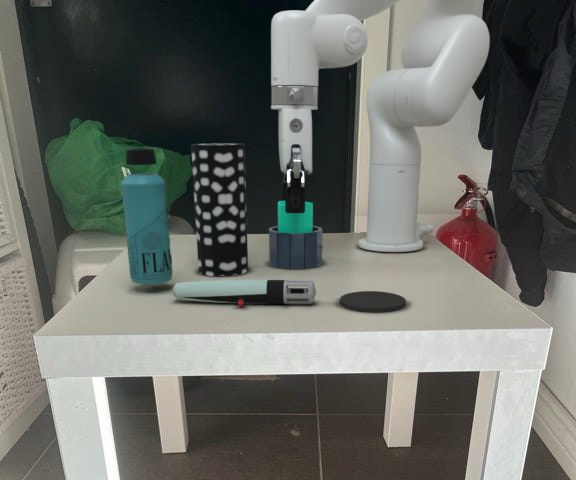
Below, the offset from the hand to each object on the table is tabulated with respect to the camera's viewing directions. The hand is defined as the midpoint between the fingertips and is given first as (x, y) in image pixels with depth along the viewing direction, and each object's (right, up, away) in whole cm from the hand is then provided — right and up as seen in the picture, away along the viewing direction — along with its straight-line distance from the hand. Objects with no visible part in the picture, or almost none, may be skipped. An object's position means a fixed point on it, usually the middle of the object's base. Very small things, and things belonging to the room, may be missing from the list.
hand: (293, 209), depth 110 cm
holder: (0, -9, +4) cm, 9 cm away
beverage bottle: (-21, -16, -13) cm, 29 cm away
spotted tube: (-12, -11, -1) cm, 16 cm away
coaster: (+11, -19, -21) cm, 30 cm away
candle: (0, -9, +4) cm, 10 cm away
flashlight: (-7, -19, -21) cm, 29 cm away
